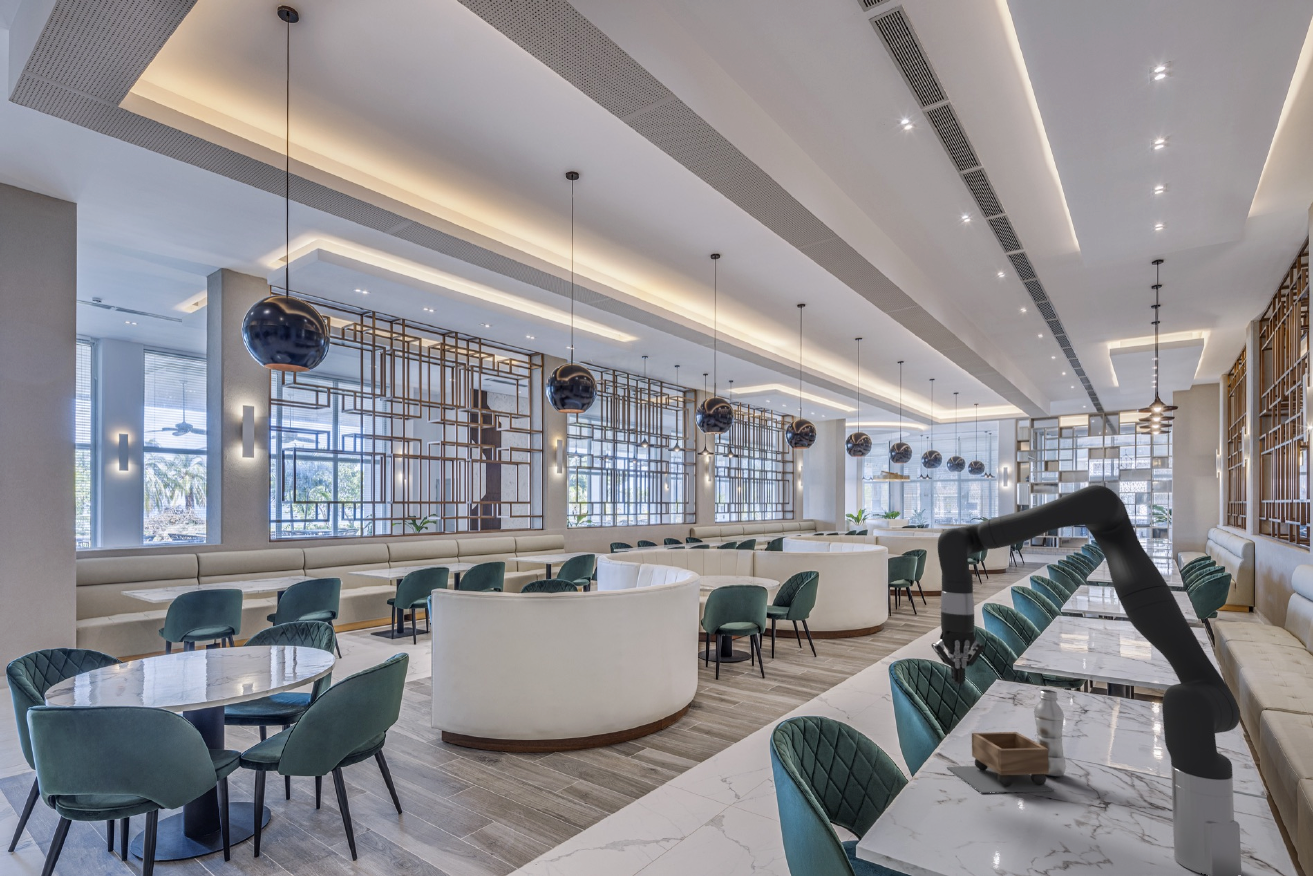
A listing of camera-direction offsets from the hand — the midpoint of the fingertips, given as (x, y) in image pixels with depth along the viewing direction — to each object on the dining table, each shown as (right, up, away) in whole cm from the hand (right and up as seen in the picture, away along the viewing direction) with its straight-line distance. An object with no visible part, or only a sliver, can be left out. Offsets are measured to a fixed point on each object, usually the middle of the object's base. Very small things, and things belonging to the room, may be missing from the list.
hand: (958, 683), depth 173 cm
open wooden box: (+12, -23, 0) cm, 26 cm away
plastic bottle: (+24, -24, +3) cm, 34 cm away
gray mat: (+9, -23, -1) cm, 25 cm away
